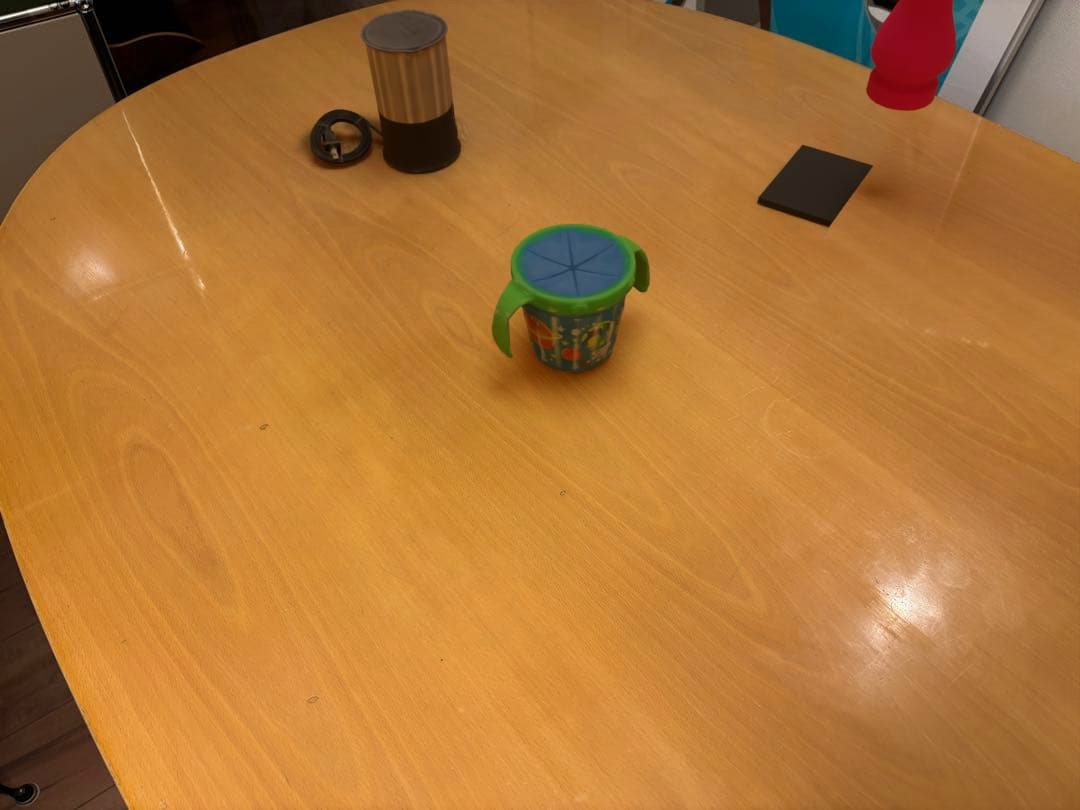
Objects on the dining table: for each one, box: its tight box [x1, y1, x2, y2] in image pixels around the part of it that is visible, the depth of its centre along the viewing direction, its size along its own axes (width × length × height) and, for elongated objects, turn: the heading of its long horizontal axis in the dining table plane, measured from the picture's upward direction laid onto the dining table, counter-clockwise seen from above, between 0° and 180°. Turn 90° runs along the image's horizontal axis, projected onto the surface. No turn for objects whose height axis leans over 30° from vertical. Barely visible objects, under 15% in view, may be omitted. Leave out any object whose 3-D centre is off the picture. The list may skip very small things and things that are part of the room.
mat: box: [757, 144, 874, 228], centre depth 93 cm, size 20×12×1 cm, turn 56°
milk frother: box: [309, 9, 462, 173], centre depth 97 cm, size 14×16×15 cm
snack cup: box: [491, 223, 651, 375], centre depth 76 cm, size 16×10×10 cm
